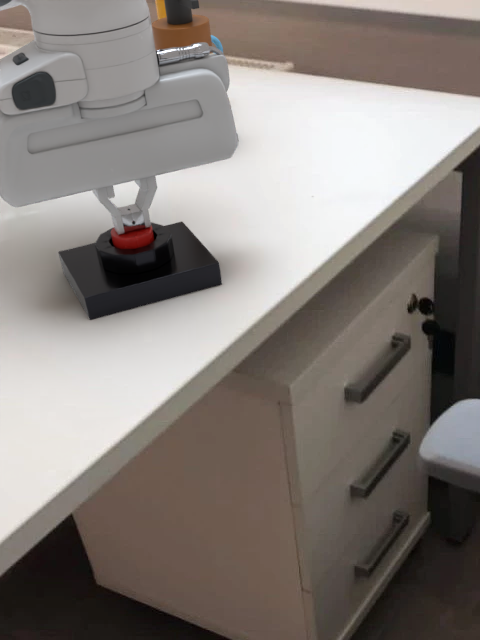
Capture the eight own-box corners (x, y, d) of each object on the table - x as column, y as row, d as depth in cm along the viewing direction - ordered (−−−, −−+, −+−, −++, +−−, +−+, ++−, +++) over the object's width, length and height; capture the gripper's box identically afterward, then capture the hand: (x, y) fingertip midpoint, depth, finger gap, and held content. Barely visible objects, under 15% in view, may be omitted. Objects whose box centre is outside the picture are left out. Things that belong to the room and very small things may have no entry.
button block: (90, 321, 75) (79, 278, 72) (63, 273, 82) (53, 232, 79) (222, 285, 78) (216, 243, 76) (185, 242, 85) (179, 202, 83)
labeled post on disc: (145, 136, 107) (114, -43, 95) (212, 118, 111) (191, -56, 98) (178, 157, 101) (149, -31, 89) (248, 138, 104) (230, -46, 92)
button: (120, 260, 76) (116, 241, 75) (109, 244, 79) (105, 226, 78) (160, 250, 77) (157, 232, 76) (148, 235, 80) (145, 217, 79)
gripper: (211, 29, 73) (230, 190, 82) (-39, 75, 67) (10, 243, 76) (239, 46, 69) (256, 213, 78) (-27, 96, 63) (24, 272, 72)
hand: (132, 228), depth 77 cm, fingers closed, pressing on button
